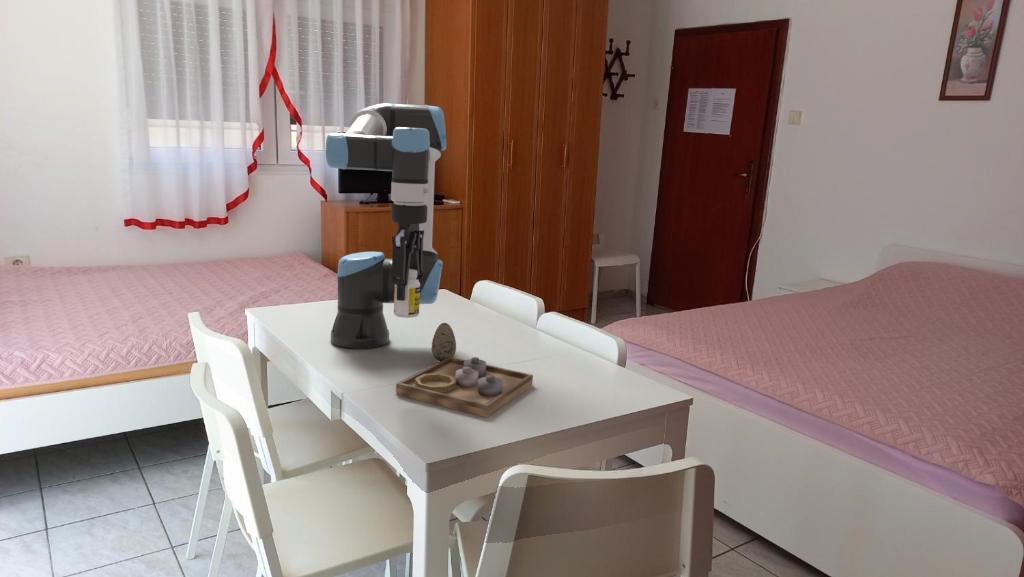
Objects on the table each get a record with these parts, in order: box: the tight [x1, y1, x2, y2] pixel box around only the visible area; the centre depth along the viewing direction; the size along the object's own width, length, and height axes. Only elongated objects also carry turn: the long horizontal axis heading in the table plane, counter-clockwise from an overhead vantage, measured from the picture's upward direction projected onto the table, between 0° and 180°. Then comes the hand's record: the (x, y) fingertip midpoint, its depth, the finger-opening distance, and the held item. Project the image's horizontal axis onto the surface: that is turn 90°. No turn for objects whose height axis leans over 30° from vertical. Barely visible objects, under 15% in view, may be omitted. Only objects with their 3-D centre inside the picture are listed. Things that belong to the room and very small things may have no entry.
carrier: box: [395, 356, 534, 418], centre depth 154 cm, size 22×22×5 cm
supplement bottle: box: [393, 269, 421, 319], centre depth 150 cm, size 5×5×10 cm
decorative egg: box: [431, 322, 457, 362], centre depth 171 cm, size 6×6×10 cm
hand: (406, 311), depth 151 cm, fingers closed on supplement bottle, 5 cm apart
